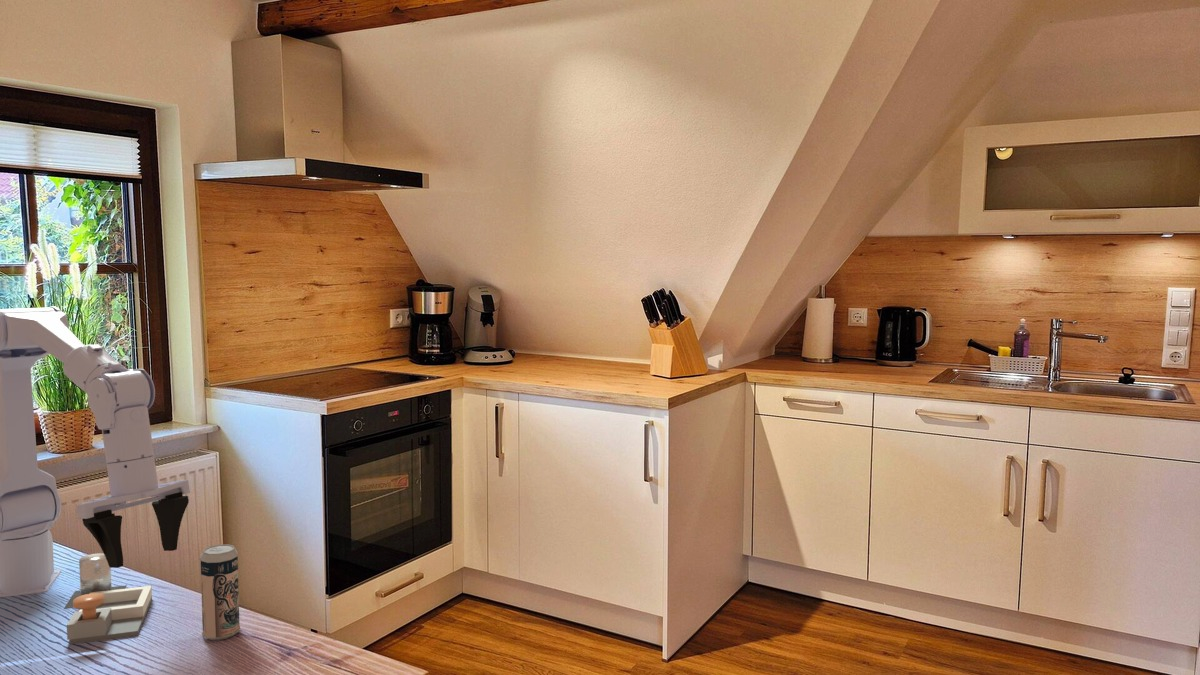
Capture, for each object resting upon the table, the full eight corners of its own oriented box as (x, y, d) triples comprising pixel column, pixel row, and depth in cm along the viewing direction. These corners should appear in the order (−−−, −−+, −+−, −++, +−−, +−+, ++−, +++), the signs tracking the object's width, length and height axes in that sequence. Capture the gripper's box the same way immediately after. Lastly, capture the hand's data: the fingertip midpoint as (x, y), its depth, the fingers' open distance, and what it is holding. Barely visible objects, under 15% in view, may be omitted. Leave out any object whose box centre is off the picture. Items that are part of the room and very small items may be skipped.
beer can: (225, 643, 112) (223, 556, 111) (194, 640, 113) (191, 553, 112) (247, 628, 116) (245, 544, 115) (217, 625, 117) (214, 542, 116)
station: (89, 609, 122) (88, 589, 122) (152, 601, 125) (151, 582, 125) (67, 647, 110) (66, 625, 110) (137, 638, 113) (137, 616, 113)
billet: (84, 593, 127) (82, 554, 127) (114, 589, 129) (112, 551, 128) (78, 603, 124) (76, 563, 123) (108, 599, 125) (107, 560, 124)
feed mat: (75, 593, 128) (75, 590, 128) (126, 587, 131) (126, 585, 131) (63, 611, 122) (63, 608, 122) (118, 604, 124) (118, 602, 124)
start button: (77, 617, 114) (76, 595, 114) (107, 614, 115) (106, 591, 115) (71, 628, 111) (70, 605, 110) (102, 624, 112) (101, 601, 112)
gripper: (92, 469, 105) (107, 575, 105) (197, 448, 118) (210, 543, 118) (62, 471, 109) (76, 574, 109) (167, 450, 122) (179, 543, 122)
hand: (144, 558), depth 114 cm, fingers open, 7 cm apart
